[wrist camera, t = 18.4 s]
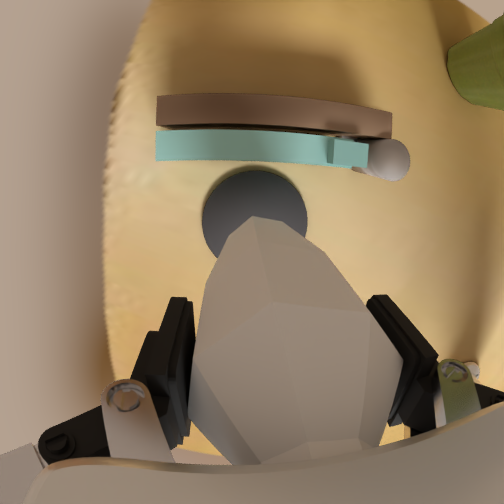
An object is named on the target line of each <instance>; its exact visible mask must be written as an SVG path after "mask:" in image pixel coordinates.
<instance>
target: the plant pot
mask: <svg viewBox="0 0 504 504" xmlns="http://www.w3.org/2000/svg"><path fill="white" fill-rule="evenodd" d="M447 68H448V72H449V75H450V78H451V80H452V83H453V85H454V86H455V88H456V90H457V91H458V93H459V94H460V95H461V96H462V97H463V98H465V99H466V100H467V101H469V102H470V103H472V104H475V105H480V106H485V107H490V108H494V109H499V110H503V111H504V14H503V15H502V16H501V17H499V18H497V19H495V20H494V21H493V23H492V24H490V25H488V26H487V27H485V28H483V29H481V30H480V31H478V32H476V33H474V34H473V35H471V36H469V37H467V38H466V39H464V40H462V41H461V42H459V43H457V44H455V45H454V46H452V47H451V48H450V49H449V51H448V63H447Z"/></svg>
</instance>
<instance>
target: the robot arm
mask: <svg viewBox="0 0 504 504" xmlns="http://www.w3.org/2000/svg"><path fill="white" fill-rule="evenodd" d="M366 307H367V309H368V310H369V311H370V313H371V314H372V315H373V317H374V318H375V320H376V321H377V322H378V324H379V325H380V327H381V328H382V330H383V331H384V332H385V334H386V335H387V337H388V338H389V340H390V341H391V343H392V344H393V345H394V347H395V348H396V350H397V351H398V353H399V354H400V356H401V357H402V359H403V366H402V370H401V374H400V378H399V382H398V386H397V390H396V393H395V397H394V401H393V404H392V407H391V411H390V414H389V417H388V420H387V422H388V424H389V427H391V426H395V425H399V424H402V422H403V424H404V425H405V427H404V439H403V440H400V441H397V442H393V443H390V444H386V445H382V446H378V447H374V448H370V449H366V450H362V451H357V452H353V453H348V454H343V455H337V456H331V457H325V458H319V459H312V460H304V461H296V462H286V463H274V464H258V465H200V464H181V463H175V461H174V458H173V456H172V453H171V451H170V450H172V449H173V448H175V447H177V444H180V445H183V438H184V436H187V437H189V434H190V425H191V420H190V419H189V417H188V402H189V391H190V381H191V371H192V362H193V355H194V348H195V342H196V337H195V325H194V313H193V302H192V301H187V298H186V297H171V299H170V301H169V304H168V307H167V309H166V312H165V315H164V318H163V321H162V323H161V326H160V329H159V331H149V332H148V333H147V335H146V338H145V340H144V343H143V345H142V348H141V351H140V353H139V356H138V359H137V361H136V364H135V367H134V369H133V372H132V375H131V377H130V379H121V380H118V381H114V382H113V383H111V384H109V385H108V386H107V387H106V388H105V389H104V390H103V392H102V394H101V405H100V406H98V407H96V408H94V409H92V410H90V411H87V412H85V413H83V414H81V415H79V416H76V417H74V418H72V419H70V420H68V421H65V422H63V423H61V424H58V425H56V426H53V427H51V428H49V429H48V430H46V431H45V432H44V433H43V434H42V435H41V437H40V439H39V441H38V444H37V445H33V444H32V443H29V444H27V445H25V446H22V447H20V448H17V449H15V450H12V451H10V452H7V453H5V454H2V455H0V504H504V392H502V391H499V390H496V389H493V388H490V387H487V386H484V385H482V384H481V383H480V382H479V381H478V378H479V374H480V368H479V366H478V365H477V364H476V363H474V362H467V363H464V364H463V363H462V362H460V361H458V360H454V359H445V360H442V361H441V362H440V363H438V361H437V358H438V356H439V355H438V354H437V352H436V351H435V350H434V349H433V347H432V346H431V345H430V344H429V343H428V341H427V340H426V339H425V338H424V337H423V335H422V334H421V333H420V332H419V331H418V329H417V328H416V327H415V326H414V325H413V324H412V322H411V321H410V320H409V319H408V318H407V317H406V316H405V314H404V313H403V312H402V311H401V310H400V309H399V308H398V306H397V305H396V304H395V303H394V302H393V301H392V300H391V299H390V297H389V296H388V295H373V296H372V297H371V299H368V301H367V304H366Z"/></svg>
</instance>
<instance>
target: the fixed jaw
mask: <svg viewBox="0 0 504 504" xmlns="http://www.w3.org/2000/svg"><path fill="white" fill-rule="evenodd" d="M156 125H157V126H161V127H165V128H169V129H173V130H175V129H262V130H280V131H294V132H306V133H316V134H326V135H334V136H338V138H344V139H351V140H354V142H358V143H365V144H369V149H368V162H367V168H362V167H354V166H352V168H351V169H352V170H354V171H356V172H360V173H363V174H367V175H371V176H374V177H378V178H382V179H385V180H388V181H398V180H400V179H402V178H403V177H404V176H405V175H406V174H407V172H408V170H409V167H410V155H409V152H408V150H407V148H406V147H405V146H404V144H402V143H401V142H400V141H398V140H394V139H391V135H392V113H391V112H386V111H382V110H377V109H373V108H368V107H362V106H357V105H351V104H346V103H339V102H333V101H326V100H318V99H310V98H301V97H291V96H279V95H263V94H236V93H208V94H181V95H165V96H157V112H156Z"/></svg>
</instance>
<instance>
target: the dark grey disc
mask: <svg viewBox="0 0 504 504" xmlns="http://www.w3.org/2000/svg"><path fill="white" fill-rule="evenodd" d="M251 216H255V217H260V218H266V219H271V220H277V221H282V222H283V223H285V224H286V225H288V226H289V227H290V228H292V229H293V230H295V231H296V232H297V233H299V234H300V235H302V236H303V237H304V238H305V235H306V231H307V212H306V208H305V205H304V202H303V200H302V198H301V196H300V194H299V193H298V192H297V190H296V189H295V188H294V187H293V186H292V185H291V184H290V183H289V182H287V181H286V180H284V179H283V178H281V177H279V176H277V175H275V174H272V173H269V172H264V171H247V172H242V173H239V174H236V175H234V176H231V177H229V178H228V179H226V180H225V181H223V182H222V183H221V184H220V185H218V187H217V188H216V189H215V190H214V191H213V192H212V194H211V195H210V197H209V199H208V201H207V203H206V205H205V208H204V212H203V219H202V227H203V233H204V237H205V240H206V243H207V245H208V247H209V249H210V250H211V251H212V253H213V254H214V255H215V256H216V257H217V258H218V257H219V255H220V253H221V251H222V249H223V247H224V245H225V243H226V240H227V238H228V236H229V235H230V234H231V233H233V232H234V231H235V230H236V229H237V228H238V227H240V226H241V225H242V224H243V223H244V222H246V221H247V220H248V219H249V218H250V217H251Z"/></svg>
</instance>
